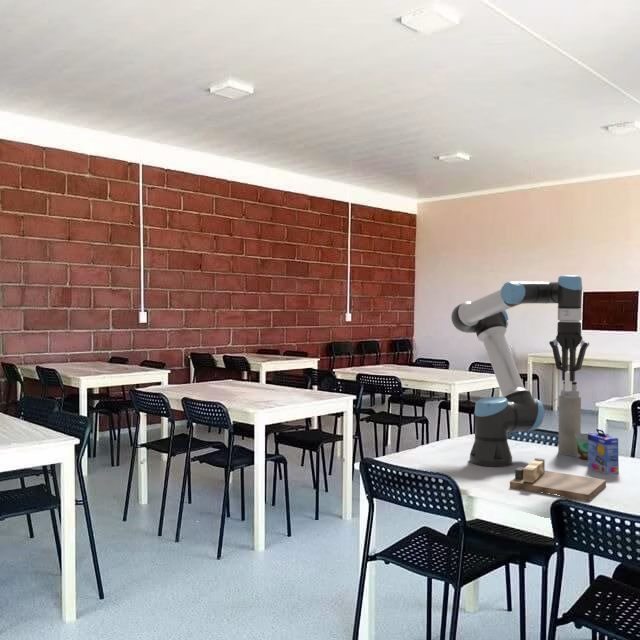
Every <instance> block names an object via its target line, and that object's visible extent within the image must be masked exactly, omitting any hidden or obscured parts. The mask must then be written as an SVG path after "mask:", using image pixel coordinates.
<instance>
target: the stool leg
mask: <svg viewBox="0 0 640 640" xmlns="http://www.w3.org/2000/svg"><path fill="white" fill-rule="evenodd" d="M545 462H546V460H545V458H539V457H535V458H534V460H532V461H531V462H530V463H529V464H528V465H526V466H524V467H523V468H524V469H523V481H524V482H531V483H533V482H534V481H535V480H536V479H538V478H539V477H540V476H541V475H542V474H543V473H545V471H546V469H545Z"/></svg>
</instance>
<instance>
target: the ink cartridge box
mask: <svg viewBox="0 0 640 640" xmlns="http://www.w3.org/2000/svg"><path fill="white" fill-rule="evenodd" d="M595 431H596V432H595V433H593V432H591V433H592V434H588V433H587V434H588V461H587V468H588V469H591V470H593V471H597V472H600V473H601V474H605V475H609V474H610V475H613V474H618V473H620V471H619V467H620V466H619V465H620V464H619V462H620V461H619V438H618V437H615V436H611V435H609V436H607V435H606V434H607V433H605V431H604V430H602V429H598V428H595Z"/></svg>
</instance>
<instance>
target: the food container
mask: <svg viewBox="0 0 640 640" xmlns="http://www.w3.org/2000/svg"><path fill="white" fill-rule="evenodd" d="M592 433H593V432H590V433H582V432H581V433H579V432H577V431H576V432H575V435H574V436H575V437H576V439H577V449H578V455H577V457H578V459H579V460H582V461H587V462H588V434H592ZM605 434H606V435H607V436H610V435H609V433H605Z"/></svg>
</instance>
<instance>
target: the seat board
mask: <svg viewBox="0 0 640 640" xmlns="http://www.w3.org/2000/svg"><path fill="white" fill-rule="evenodd" d="M524 468H525V467H523V466H519V467H517V468H515V470H514V473H515V474H514V478H513V479H512V480H510V481H509V488H511V489H515V488H516V490H520V489H522V490H521V491H526V490H528V491H527V492H532V491H536V492H535V493H537V492H543V493H550V494H557V495H560V496H564V497H563V498H566V497H568V498H567V499H571V500H572V499H573V500H578V501H583V502H589V501H591V500H593V498H594V497H595V496H596V495H598V494H599V493H600V492H602V490H604V489H605V488H606V487H607V479H602V478H596V477H595V478H594V477H590V476H589V477H588V476H583V475H576V474H570V473H563V472H557V471H549V470H545V473H543V474H542V475H541V476H540V477H539V478H538V479H536V480H535V481H534V482H533V483H531V482H524V481H523V469H524ZM543 493H542V494H543ZM560 496H559V497H560Z"/></svg>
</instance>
